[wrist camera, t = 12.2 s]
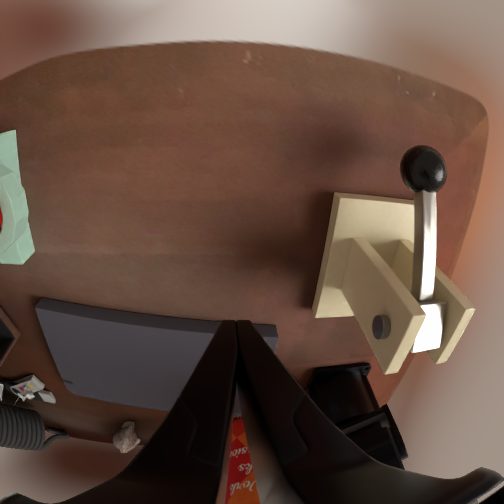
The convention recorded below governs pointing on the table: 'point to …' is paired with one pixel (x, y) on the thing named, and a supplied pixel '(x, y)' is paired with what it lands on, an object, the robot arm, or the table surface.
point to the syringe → (28, 394)
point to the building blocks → (1, 391)
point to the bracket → (382, 279)
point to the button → (0, 217)
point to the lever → (425, 238)
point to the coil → (24, 429)
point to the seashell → (126, 437)
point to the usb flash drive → (33, 384)
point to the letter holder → (7, 335)
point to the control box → (13, 205)
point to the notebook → (128, 352)
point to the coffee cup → (240, 469)
